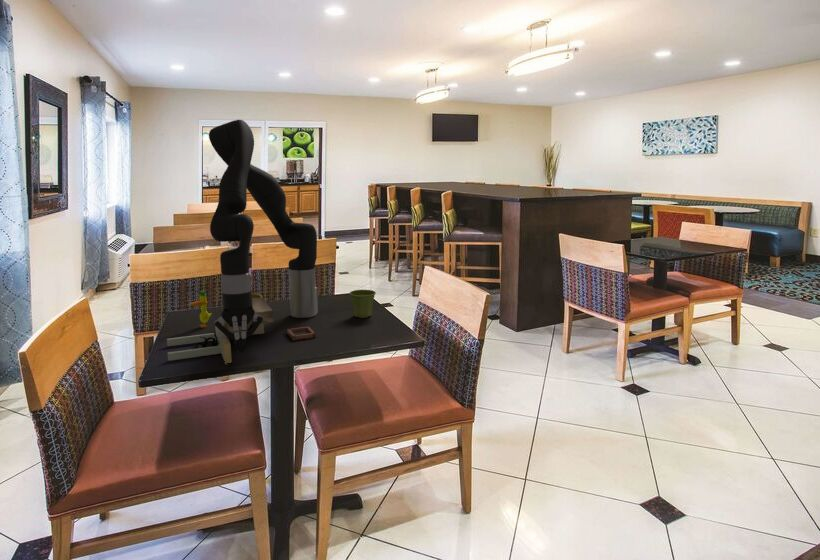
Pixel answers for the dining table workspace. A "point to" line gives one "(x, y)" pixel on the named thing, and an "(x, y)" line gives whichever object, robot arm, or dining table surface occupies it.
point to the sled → (222, 348)
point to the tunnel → (260, 309)
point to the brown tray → (301, 333)
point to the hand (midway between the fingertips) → (240, 351)
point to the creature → (207, 341)
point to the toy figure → (202, 308)
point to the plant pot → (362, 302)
